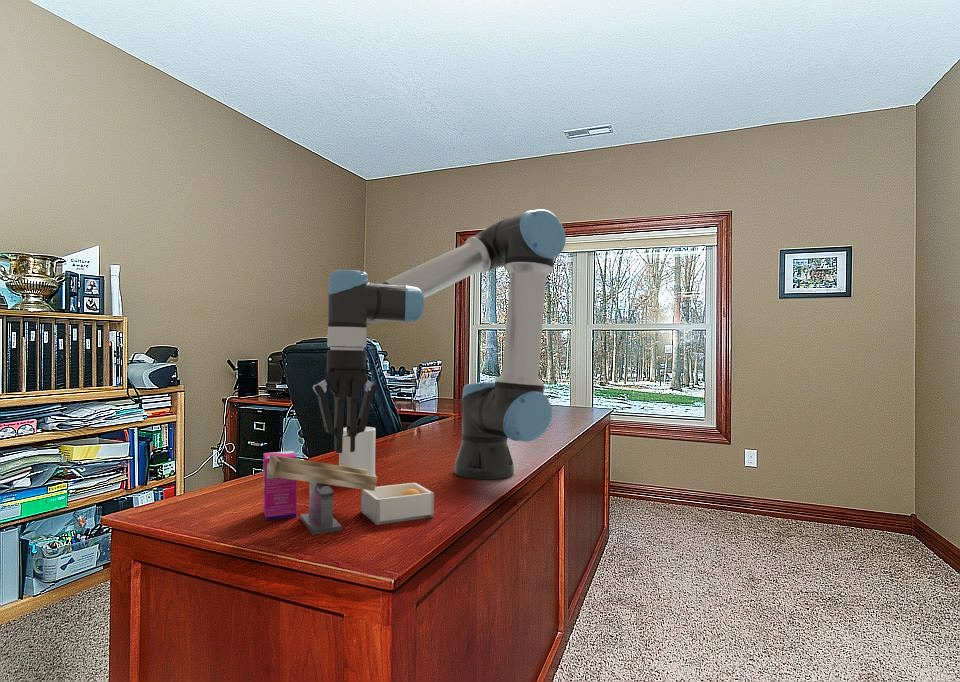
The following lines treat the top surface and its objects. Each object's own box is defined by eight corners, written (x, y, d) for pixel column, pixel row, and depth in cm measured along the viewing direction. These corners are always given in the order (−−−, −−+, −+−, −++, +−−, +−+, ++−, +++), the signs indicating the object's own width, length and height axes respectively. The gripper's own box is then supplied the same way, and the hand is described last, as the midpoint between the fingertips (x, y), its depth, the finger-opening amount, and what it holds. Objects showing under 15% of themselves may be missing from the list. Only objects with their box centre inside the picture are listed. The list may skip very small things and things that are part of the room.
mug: (355, 470, 147) (356, 423, 147) (386, 472, 145) (387, 425, 145) (333, 481, 136) (334, 430, 136) (366, 483, 134) (367, 432, 134)
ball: (420, 500, 114) (412, 482, 114) (428, 505, 111) (420, 487, 110) (403, 511, 113) (395, 493, 112) (410, 516, 109) (402, 498, 108)
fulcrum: (327, 515, 109) (328, 474, 109) (341, 530, 100) (342, 486, 100) (300, 518, 106) (301, 477, 106) (312, 534, 97) (313, 489, 97)
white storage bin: (414, 504, 117) (415, 482, 117) (433, 516, 109) (433, 493, 109) (361, 511, 111) (361, 488, 111) (376, 525, 103) (376, 499, 103)
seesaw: (353, 475, 116) (356, 463, 116) (374, 490, 104) (377, 477, 104) (261, 462, 107) (265, 448, 108) (273, 476, 96) (277, 462, 96)
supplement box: (262, 512, 110) (263, 452, 110) (294, 509, 112) (295, 450, 113) (263, 520, 105) (264, 457, 105) (297, 517, 107) (298, 455, 107)
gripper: (372, 349, 120) (370, 462, 119) (309, 348, 113) (306, 468, 113) (384, 349, 113) (382, 469, 113) (317, 348, 107) (315, 475, 107)
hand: (344, 468), depth 113 cm, fingers closed
